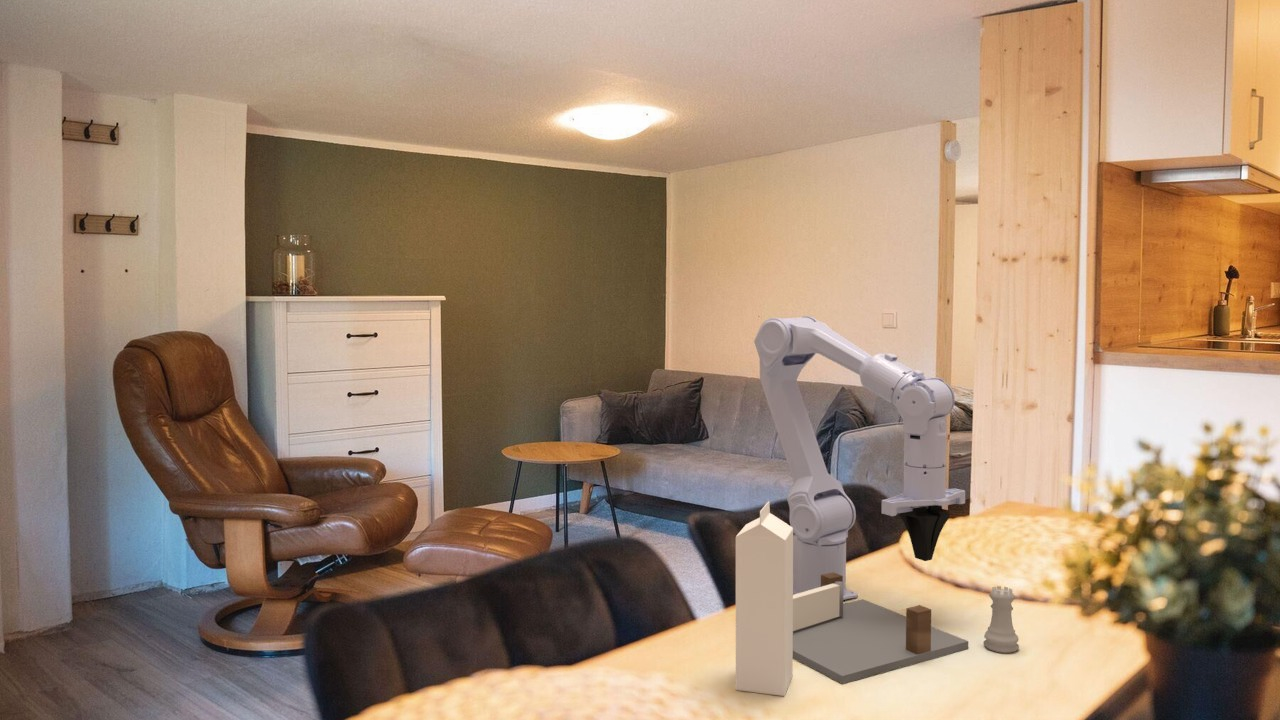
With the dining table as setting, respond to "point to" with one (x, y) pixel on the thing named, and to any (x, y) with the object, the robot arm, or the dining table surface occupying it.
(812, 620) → the gate leaf
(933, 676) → the dining table surface
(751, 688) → the milk
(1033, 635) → the dining table surface
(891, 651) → the base
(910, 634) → the gate posts
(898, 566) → the dining table surface
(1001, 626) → the rook chess piece
